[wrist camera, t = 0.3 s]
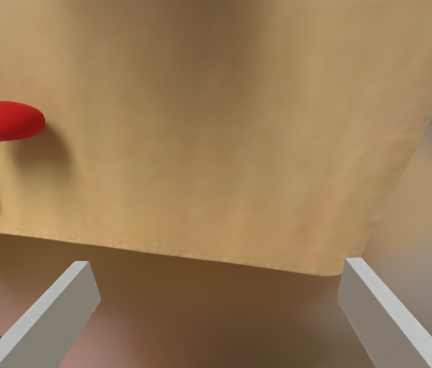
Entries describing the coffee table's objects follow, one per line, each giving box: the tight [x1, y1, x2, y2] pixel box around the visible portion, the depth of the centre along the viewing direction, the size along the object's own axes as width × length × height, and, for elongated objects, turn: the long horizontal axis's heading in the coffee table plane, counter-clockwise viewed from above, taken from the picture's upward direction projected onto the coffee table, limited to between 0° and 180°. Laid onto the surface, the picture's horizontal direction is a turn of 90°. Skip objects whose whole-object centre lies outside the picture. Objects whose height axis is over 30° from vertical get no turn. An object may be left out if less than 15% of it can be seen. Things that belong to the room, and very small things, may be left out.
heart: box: [0, 101, 45, 141], centre depth 31 cm, size 12×5×10 cm, turn 94°
